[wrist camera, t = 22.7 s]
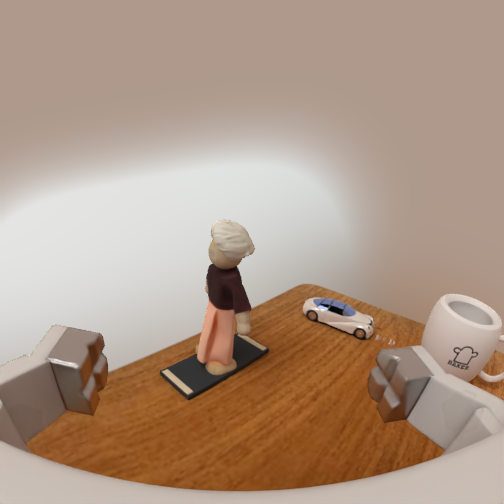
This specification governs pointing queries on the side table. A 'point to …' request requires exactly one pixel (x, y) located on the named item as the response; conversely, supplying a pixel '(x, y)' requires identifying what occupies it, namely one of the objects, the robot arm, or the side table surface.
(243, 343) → the black flat block
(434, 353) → the mug
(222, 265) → the grandmother figurine
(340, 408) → the side table surface
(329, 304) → the toy car
